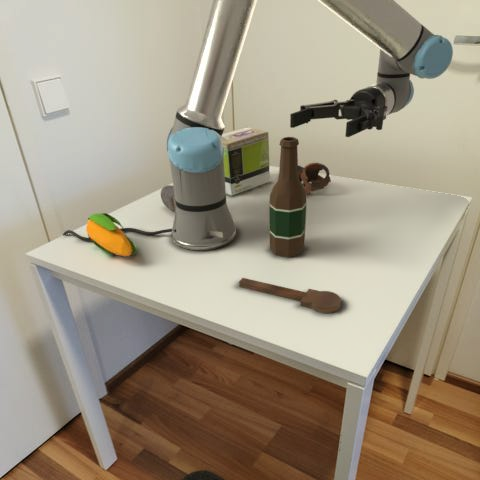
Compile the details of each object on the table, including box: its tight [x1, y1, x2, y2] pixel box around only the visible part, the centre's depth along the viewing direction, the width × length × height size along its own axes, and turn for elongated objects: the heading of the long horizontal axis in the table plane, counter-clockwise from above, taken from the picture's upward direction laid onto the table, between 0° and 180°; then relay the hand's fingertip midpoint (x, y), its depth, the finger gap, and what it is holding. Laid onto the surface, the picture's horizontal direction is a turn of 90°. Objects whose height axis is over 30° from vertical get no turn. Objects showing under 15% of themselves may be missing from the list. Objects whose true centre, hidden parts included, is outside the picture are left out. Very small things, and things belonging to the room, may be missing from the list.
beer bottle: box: [268, 136, 307, 258], centre depth 94 cm, size 8×8×24 cm
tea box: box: [221, 126, 271, 197], centre depth 130 cm, size 15×10×15 cm, turn 130°
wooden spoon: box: [238, 277, 342, 314], centre depth 86 cm, size 20×6×1 cm, turn 63°
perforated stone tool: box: [160, 184, 176, 214], centre depth 119 cm, size 15×5×7 cm, turn 38°
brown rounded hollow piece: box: [298, 162, 332, 195], centre depth 129 cm, size 12×10×8 cm
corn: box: [85, 212, 138, 257], centre depth 103 cm, size 7×8×20 cm
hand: (318, 125), depth 92 cm, fingers open, 13 cm apart
